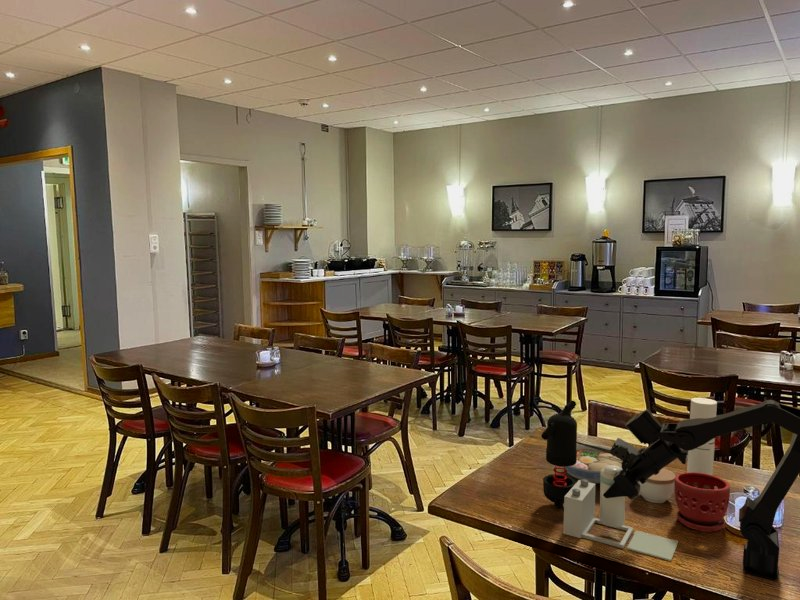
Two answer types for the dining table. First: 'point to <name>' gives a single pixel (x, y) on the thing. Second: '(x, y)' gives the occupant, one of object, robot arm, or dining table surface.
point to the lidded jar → (658, 486)
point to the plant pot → (701, 501)
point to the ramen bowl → (592, 462)
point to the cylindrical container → (704, 455)
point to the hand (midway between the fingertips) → (607, 491)
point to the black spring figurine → (560, 453)
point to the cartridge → (611, 499)
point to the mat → (653, 545)
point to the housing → (586, 514)
